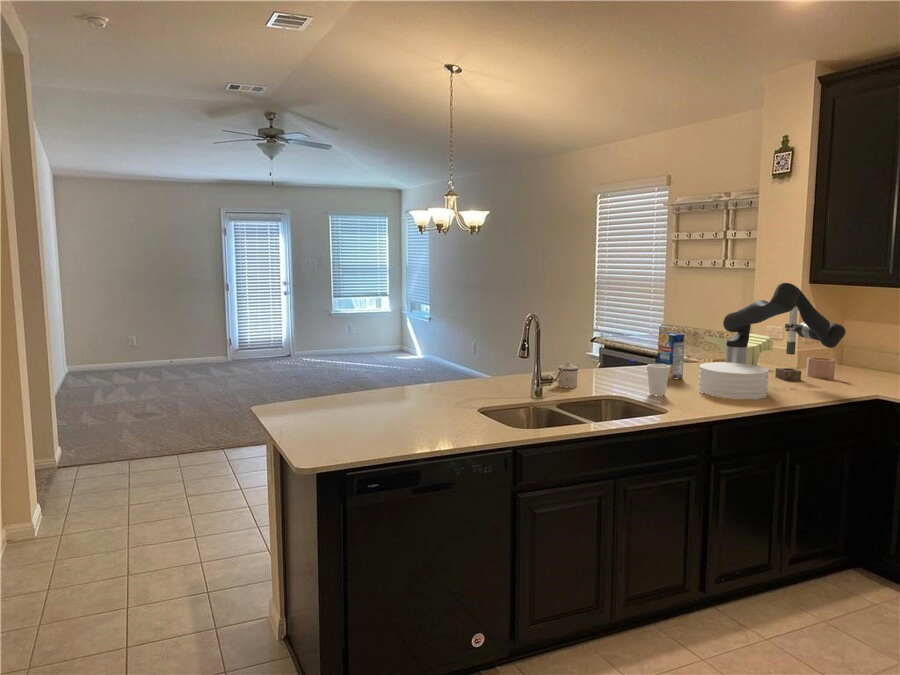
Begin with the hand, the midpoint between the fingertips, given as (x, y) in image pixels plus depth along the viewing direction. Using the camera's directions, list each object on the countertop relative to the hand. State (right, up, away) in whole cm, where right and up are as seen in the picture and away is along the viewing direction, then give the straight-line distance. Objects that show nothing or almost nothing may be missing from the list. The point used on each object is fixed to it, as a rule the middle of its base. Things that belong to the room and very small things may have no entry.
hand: (789, 326), depth 306 cm
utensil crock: (+20, -26, +9) cm, 34 cm away
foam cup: (-73, -31, -28) cm, 84 cm away
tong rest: (0, -27, +1) cm, 27 cm away
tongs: (0, -14, -1) cm, 14 cm away
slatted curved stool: (-9, -23, +35) cm, 43 cm away
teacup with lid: (-110, -29, -11) cm, 115 cm away
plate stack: (-38, -31, -23) cm, 54 cm away
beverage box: (-54, -26, +12) cm, 61 cm away
